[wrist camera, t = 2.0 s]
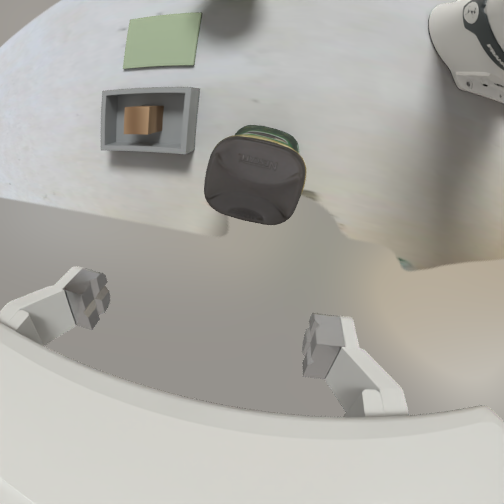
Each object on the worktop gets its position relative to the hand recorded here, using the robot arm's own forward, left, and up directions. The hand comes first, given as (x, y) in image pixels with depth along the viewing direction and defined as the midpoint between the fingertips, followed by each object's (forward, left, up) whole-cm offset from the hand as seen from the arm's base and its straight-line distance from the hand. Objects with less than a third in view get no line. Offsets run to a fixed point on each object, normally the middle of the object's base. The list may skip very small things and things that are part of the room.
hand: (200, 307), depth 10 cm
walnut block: (+18, -4, -34) cm, 38 cm away
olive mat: (+18, -17, -34) cm, 42 cm away
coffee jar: (0, 0, -34) cm, 34 cm away
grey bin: (+18, -4, -34) cm, 39 cm away
